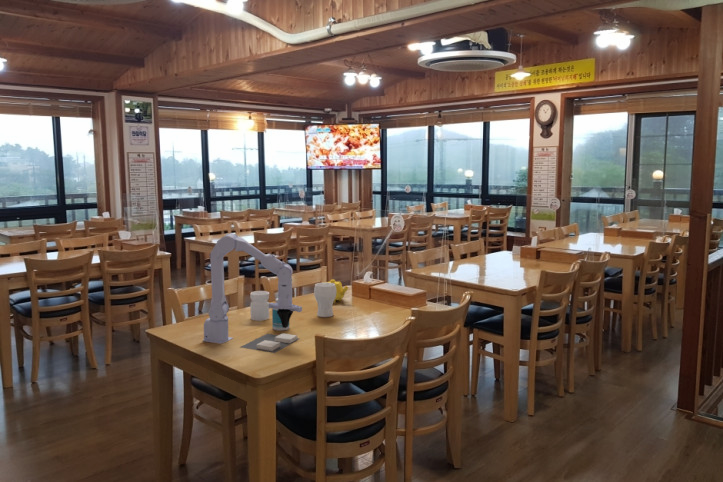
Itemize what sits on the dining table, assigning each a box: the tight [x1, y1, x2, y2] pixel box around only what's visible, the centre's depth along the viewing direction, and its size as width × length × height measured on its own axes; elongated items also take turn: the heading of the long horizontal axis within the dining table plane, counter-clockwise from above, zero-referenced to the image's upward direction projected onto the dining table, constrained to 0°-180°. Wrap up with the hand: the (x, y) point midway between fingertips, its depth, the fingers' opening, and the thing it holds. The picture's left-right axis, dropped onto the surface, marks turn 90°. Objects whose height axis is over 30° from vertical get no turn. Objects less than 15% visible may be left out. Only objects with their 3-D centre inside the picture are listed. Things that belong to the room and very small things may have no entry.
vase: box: [249, 290, 270, 321], centre depth 269 cm, size 9×9×12 cm
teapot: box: [327, 279, 349, 304], centre depth 305 cm, size 14×14×11 cm
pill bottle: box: [271, 297, 290, 332], centre depth 252 cm, size 8×7×14 cm
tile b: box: [275, 333, 298, 343], centre depth 236 cm, size 2×6×7 cm
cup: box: [313, 281, 336, 318], centre depth 276 cm, size 11×11×15 cm
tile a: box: [257, 340, 280, 351], centre depth 227 cm, size 2×6×7 cm
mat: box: [240, 333, 301, 354], centre depth 233 cm, size 16×20×1 cm
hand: (285, 327), depth 235 cm, fingers closed
